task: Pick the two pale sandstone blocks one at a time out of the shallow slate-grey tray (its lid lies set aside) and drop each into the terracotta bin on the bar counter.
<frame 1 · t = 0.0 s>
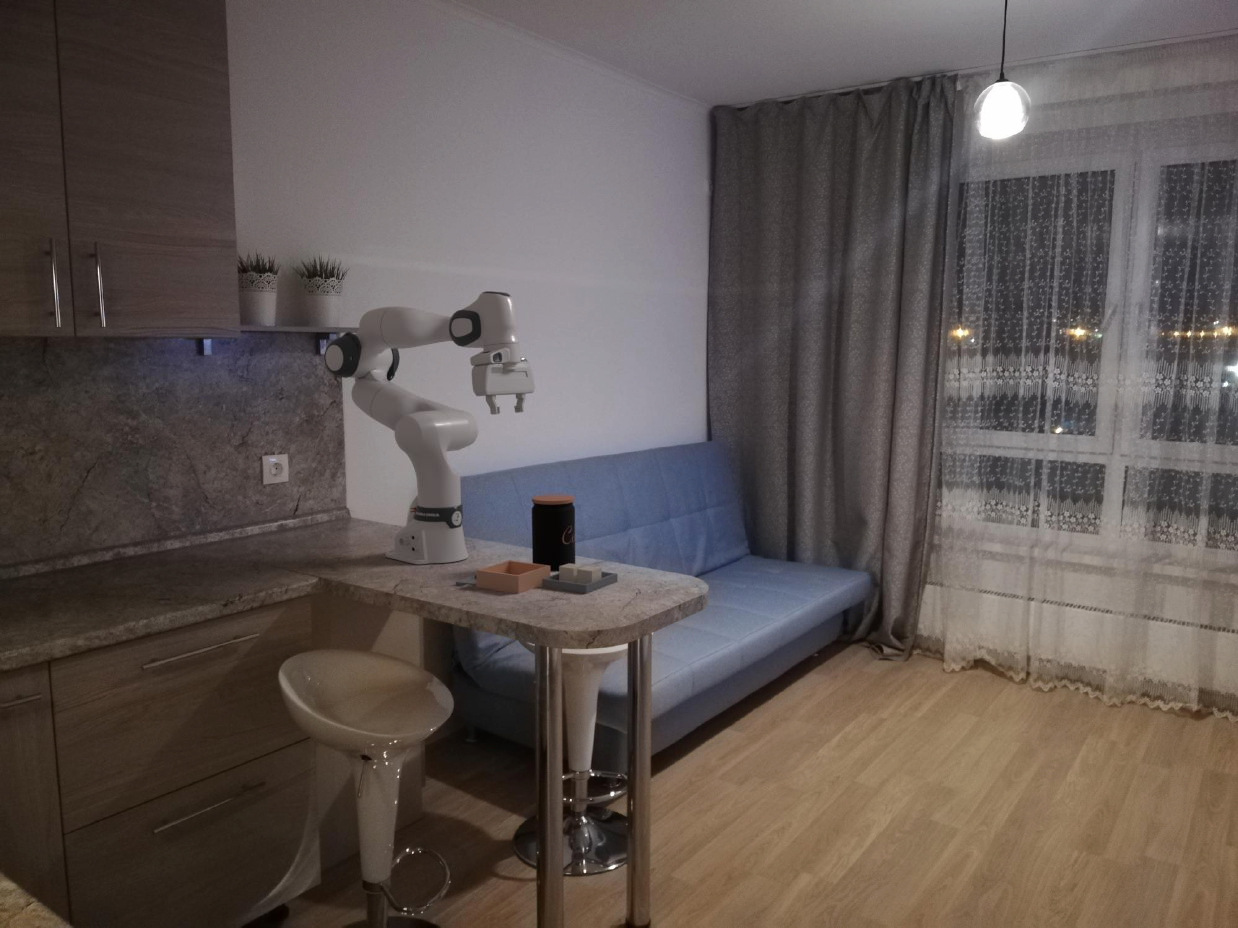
hand: (507, 413, 226), 39 cm above the countertop, tool pointing down, fingers open, 8 cm apart
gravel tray: (580, 586, 211), on the countertop
coffee jar: (554, 569, 230), on the countertop
terracotta bin: (513, 587, 211), on the countertop
tray lid: (480, 581, 216), on the countertop
stone a: (571, 582, 213), point 1 cm above the countertop, touching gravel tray
stone b: (589, 585, 210), point 1 cm above the countertop, touching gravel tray
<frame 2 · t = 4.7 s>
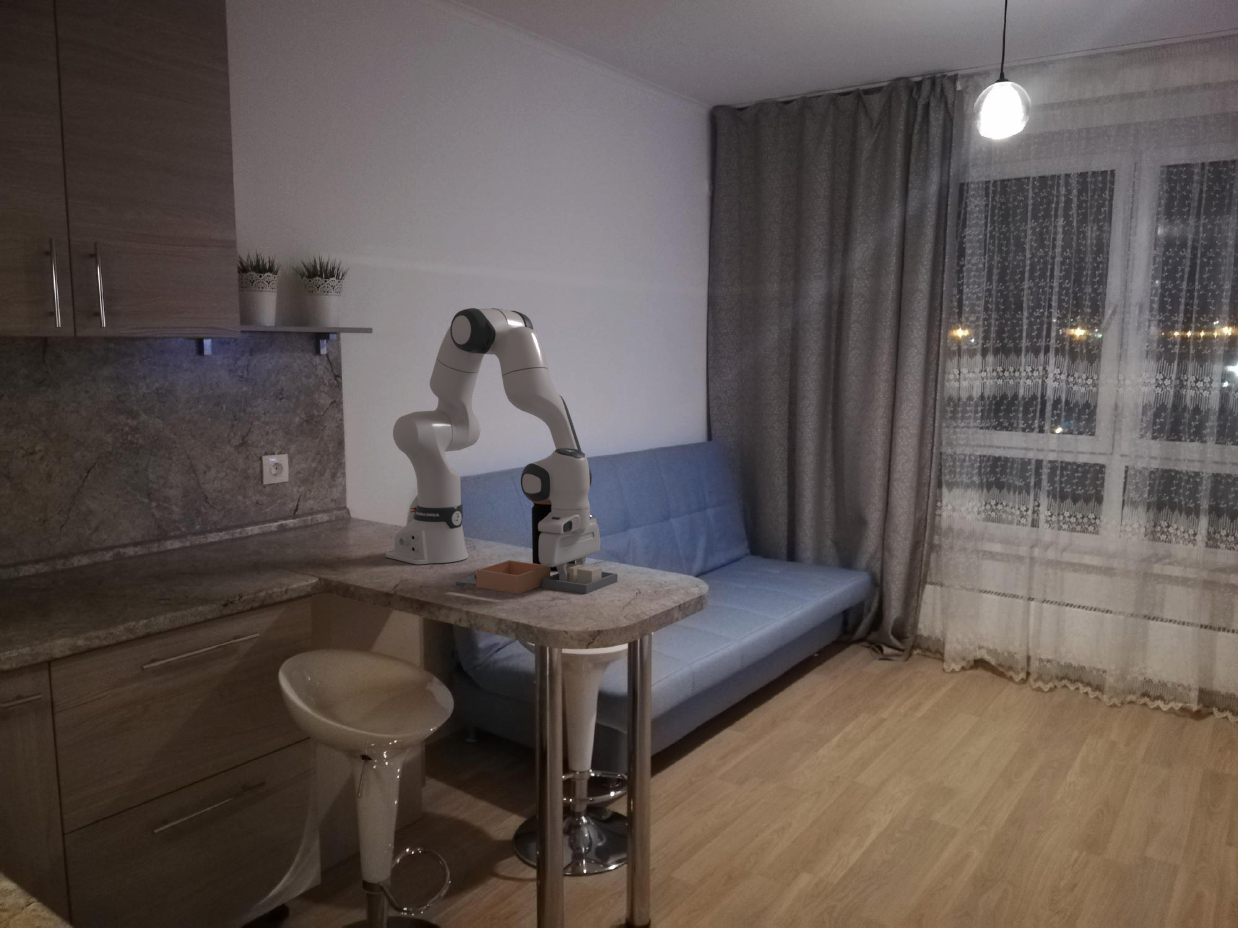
hand: (571, 578, 212), 2 cm above the countertop, tool pointing down, fingers closed on stone a, 4 cm apart
stone a: (571, 582, 213), point 1 cm above the countertop, touching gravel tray, gripper
everything else where it was.
when the fingers open (6 cm above the countertop, at t = 8.4 s): stone a drops 5 cm, resting on terracotta bin.
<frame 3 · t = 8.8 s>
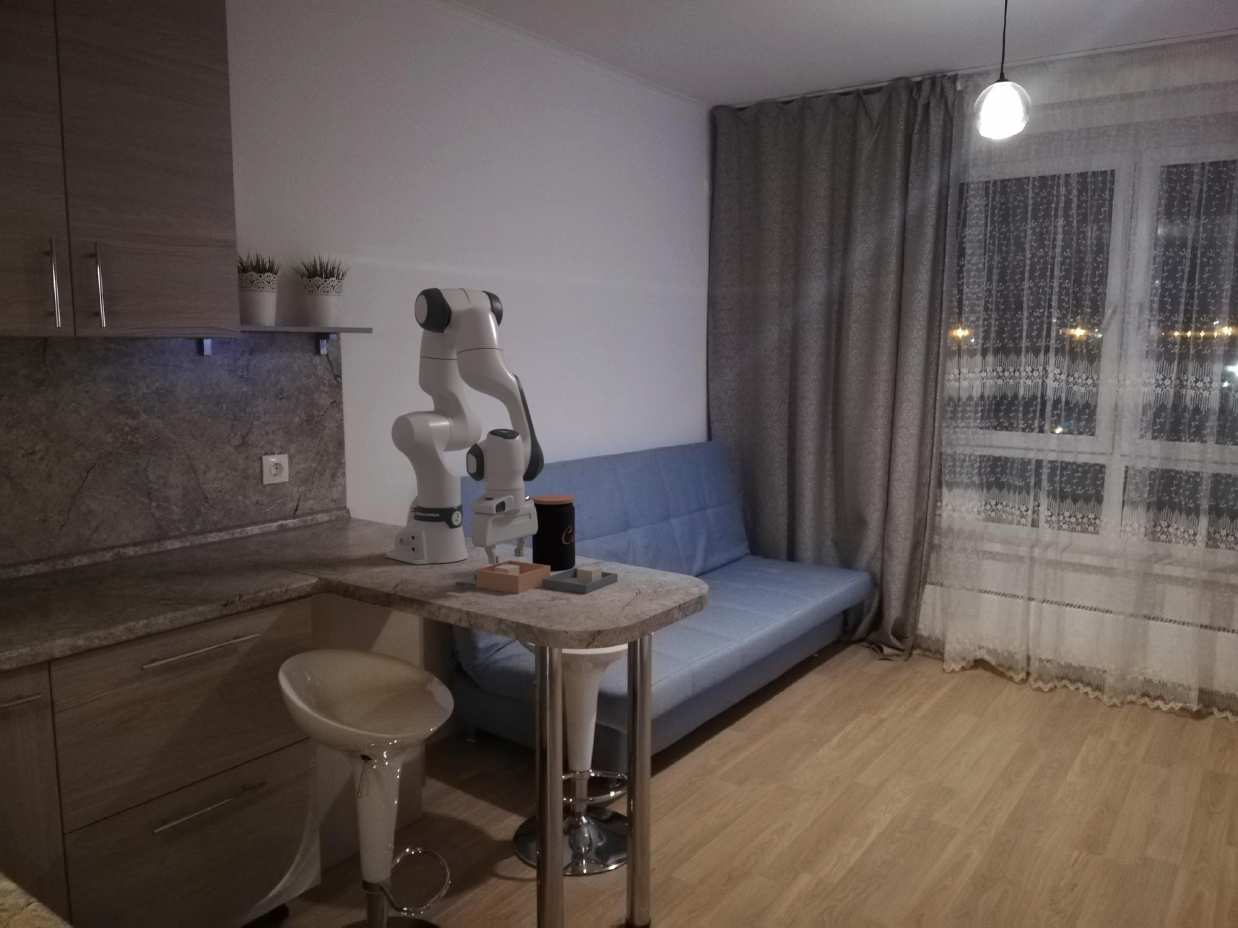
hand: (506, 560, 212), 6 cm above the countertop, tool pointing down, fingers open, 8 cm apart
stone a: (507, 583, 212), point 1 cm above the countertop, touching terracotta bin
everything else where it was.
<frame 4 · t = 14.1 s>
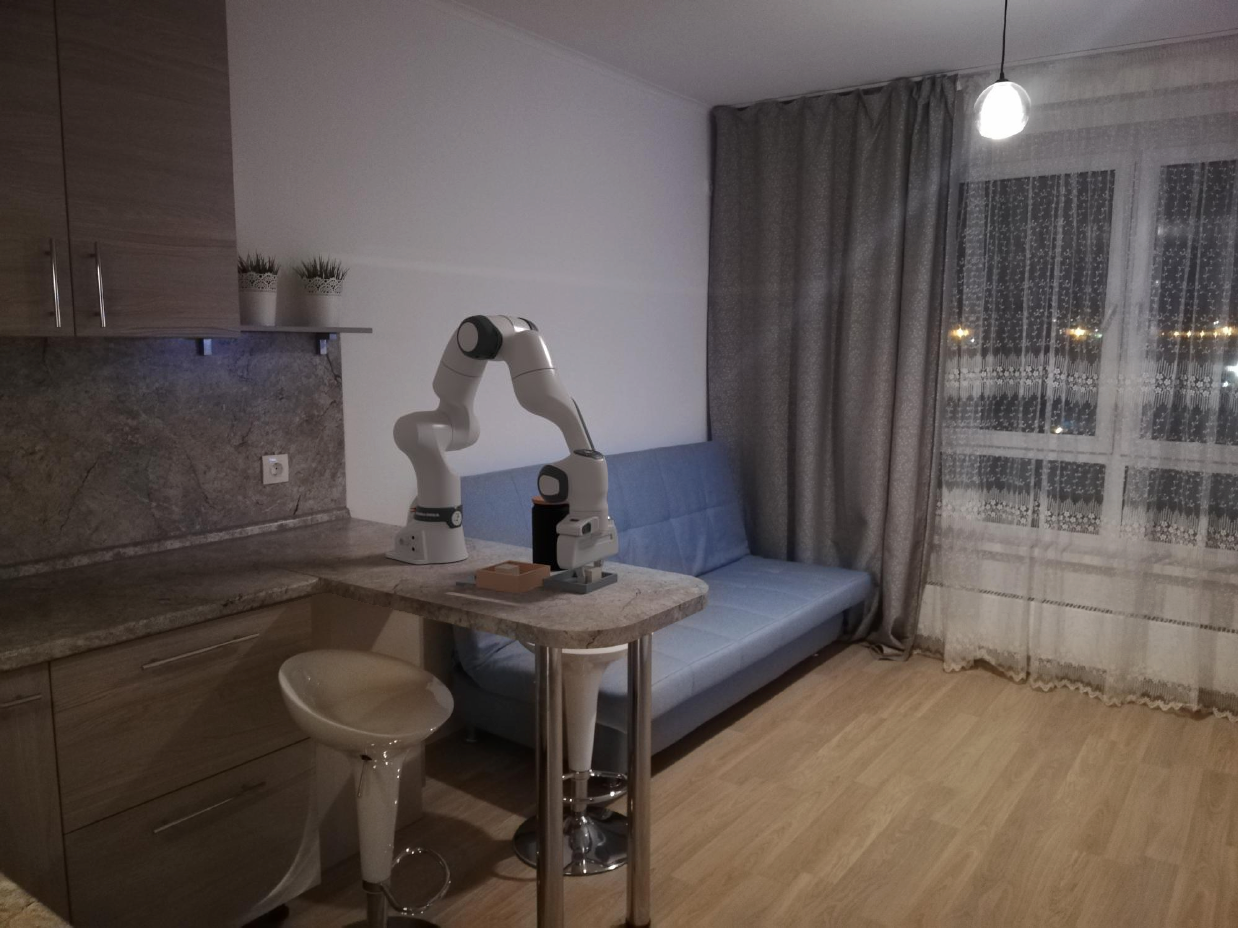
hand: (589, 581, 210), 2 cm above the countertop, tool pointing down, fingers closed on stone b, 4 cm apart
stone b: (589, 585, 210), point 1 cm above the countertop, touching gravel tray, gripper
everything else where it was.
when the fingers open (6 cm above the countertop, at t = 17.8 s): stone b drops 5 cm, resting on terracotta bin.
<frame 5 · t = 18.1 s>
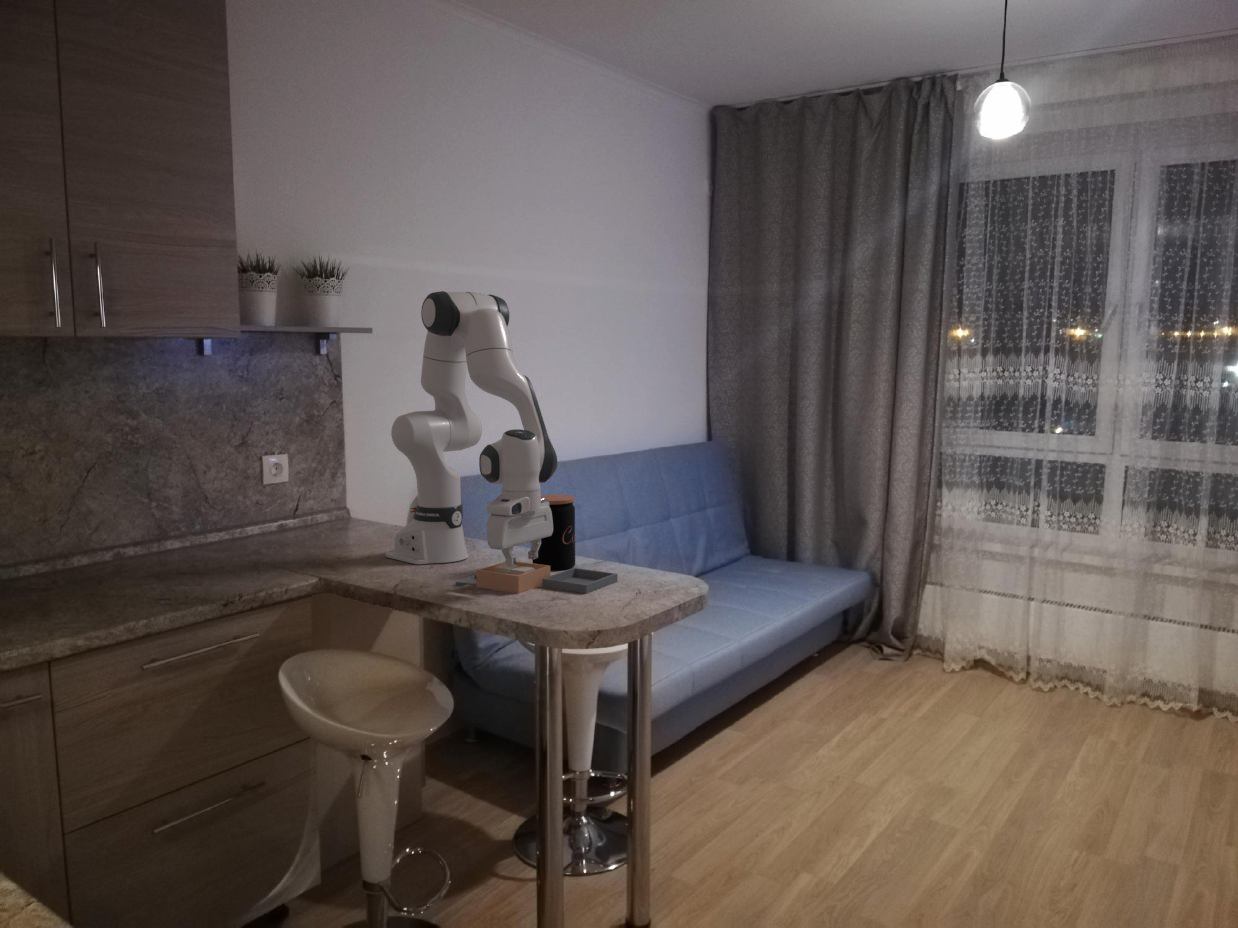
hand: (522, 562, 209), 6 cm above the countertop, tool pointing down, fingers open, 7 cm apart
stone b: (522, 585, 210), point 1 cm above the countertop, touching terracotta bin
everything else where it was.
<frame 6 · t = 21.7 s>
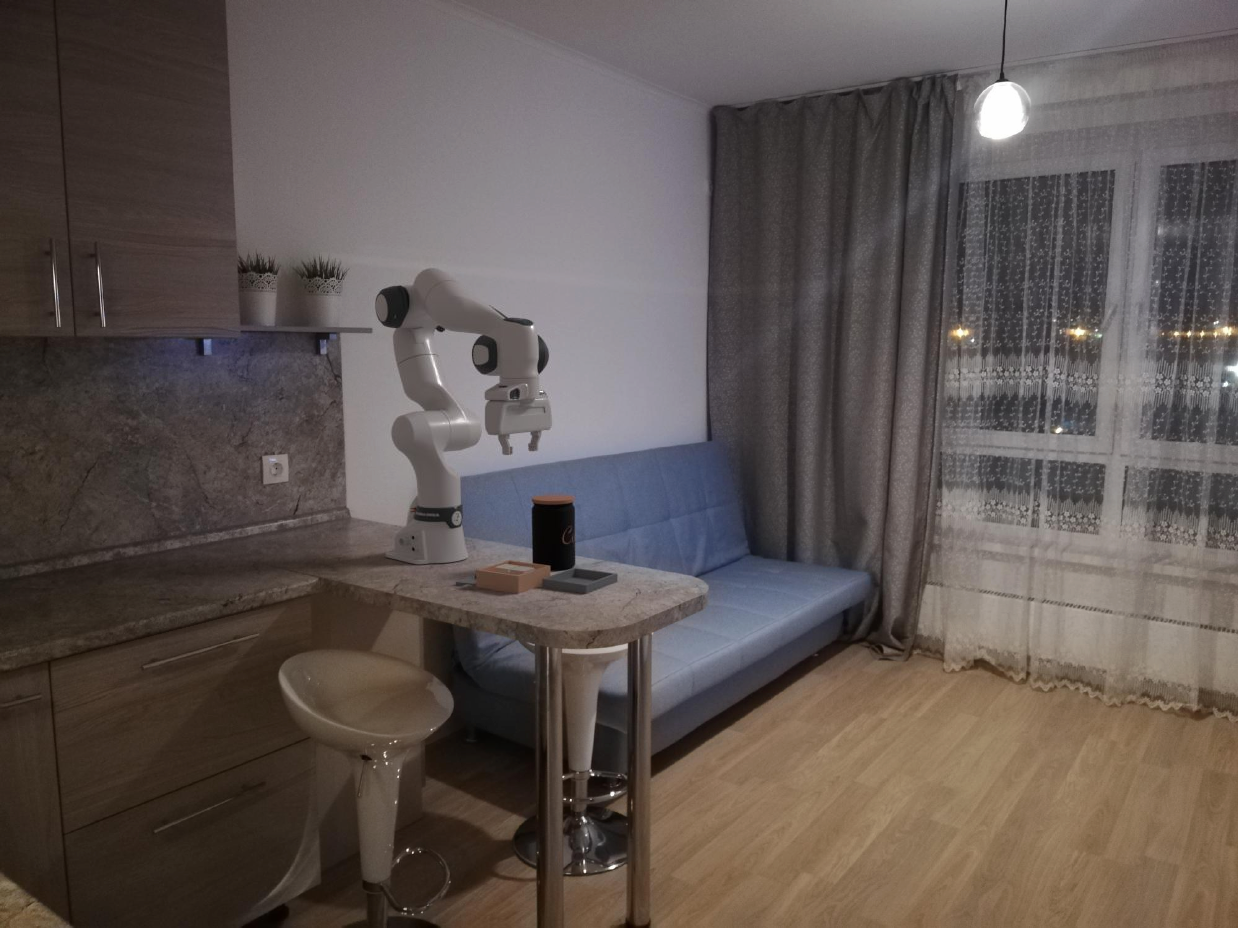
hand: (520, 452, 207), 31 cm above the countertop, tool pointing down, fingers open, 8 cm apart
nothing on the countertop moved.
at the end: stone a inside the target area on the terracotta bin (2.0 cm from its centre), point 0.6 cm above the terracotta bin's base; stone b inside the target area on the terracotta bin (2.5 cm from its centre), point 0.6 cm above the terracotta bin's base; the gripper is holding nothing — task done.
